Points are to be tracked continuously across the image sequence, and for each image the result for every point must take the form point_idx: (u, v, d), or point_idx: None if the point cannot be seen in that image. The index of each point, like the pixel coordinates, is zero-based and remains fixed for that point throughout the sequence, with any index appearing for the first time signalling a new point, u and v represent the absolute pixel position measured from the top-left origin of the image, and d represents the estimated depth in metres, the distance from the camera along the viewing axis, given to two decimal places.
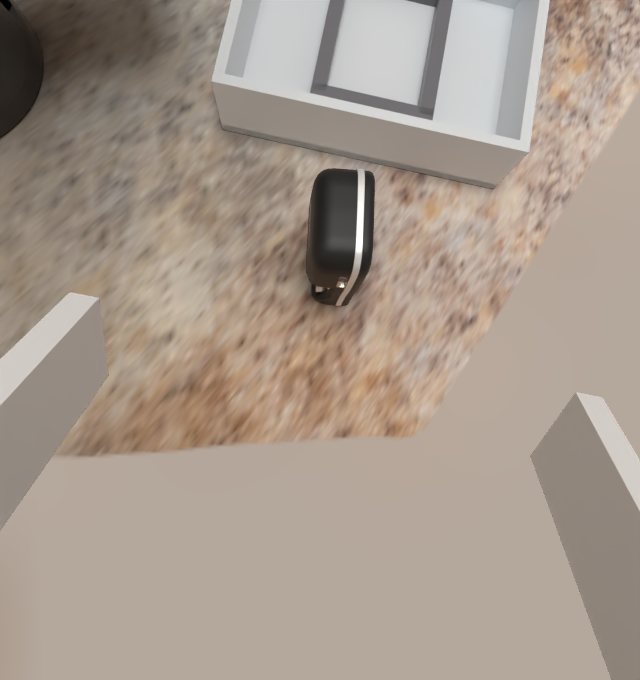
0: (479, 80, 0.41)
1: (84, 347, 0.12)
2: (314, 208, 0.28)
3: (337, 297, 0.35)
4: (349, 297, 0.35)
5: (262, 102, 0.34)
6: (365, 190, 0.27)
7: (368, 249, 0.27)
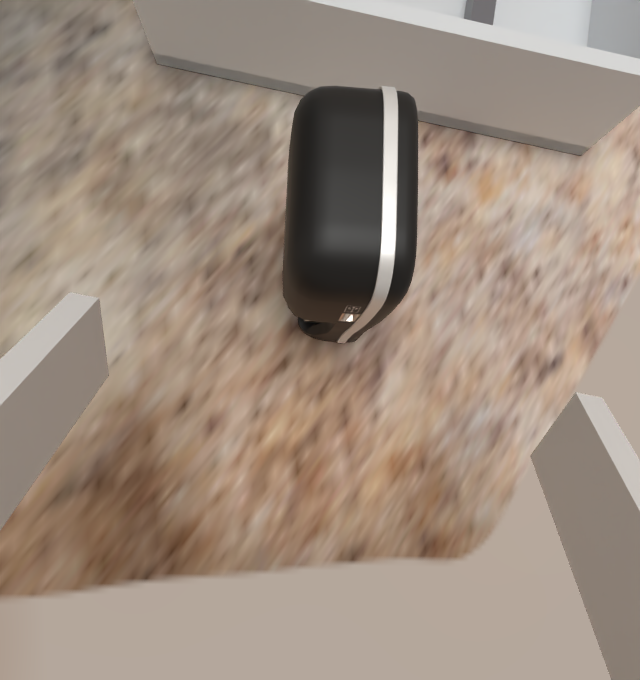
0: None
1: (84, 347, 0.12)
2: (293, 167, 0.13)
3: (340, 333, 0.21)
4: (360, 333, 0.20)
5: (209, 0, 0.20)
6: (398, 126, 0.13)
7: (407, 251, 0.13)
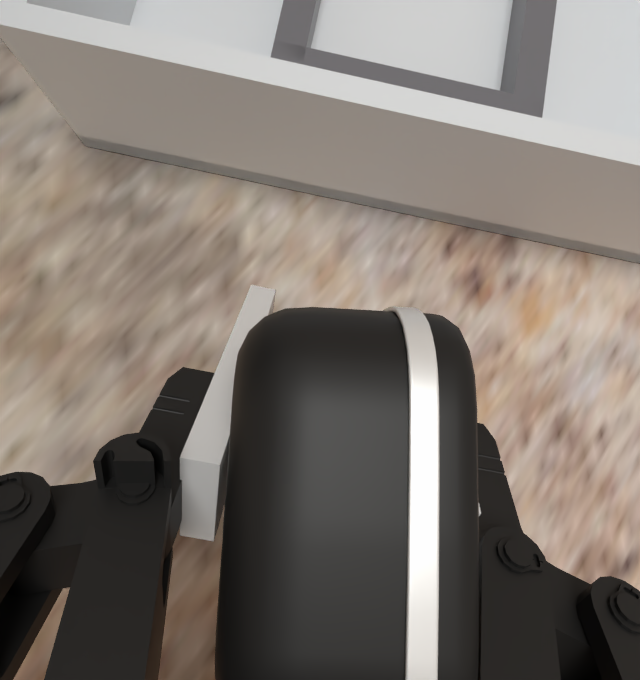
0: (624, 43, 0.20)
1: None
2: (228, 484, 0.07)
3: None
4: None
5: (138, 80, 0.14)
6: (440, 427, 0.06)
7: None
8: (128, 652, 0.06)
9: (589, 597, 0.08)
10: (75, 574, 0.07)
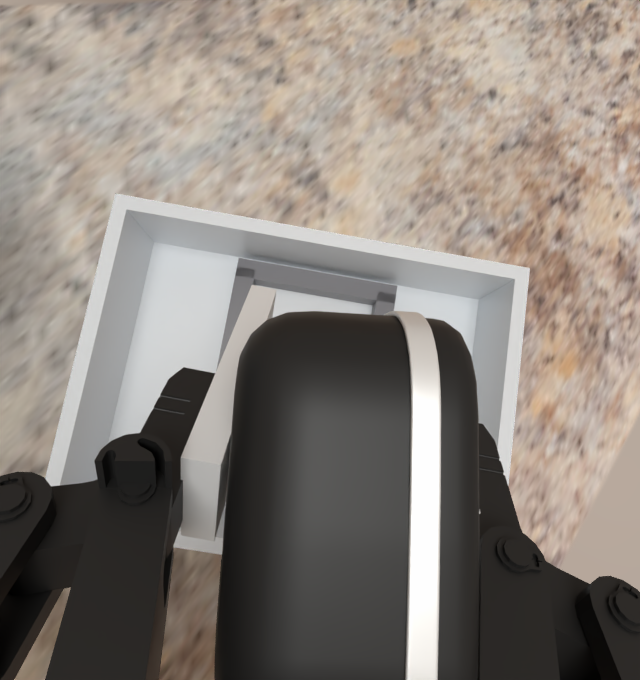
0: None
1: None
2: (229, 487, 0.07)
3: None
4: None
5: None
6: (441, 433, 0.06)
7: None
8: (129, 652, 0.06)
9: (588, 597, 0.08)
10: (76, 574, 0.07)
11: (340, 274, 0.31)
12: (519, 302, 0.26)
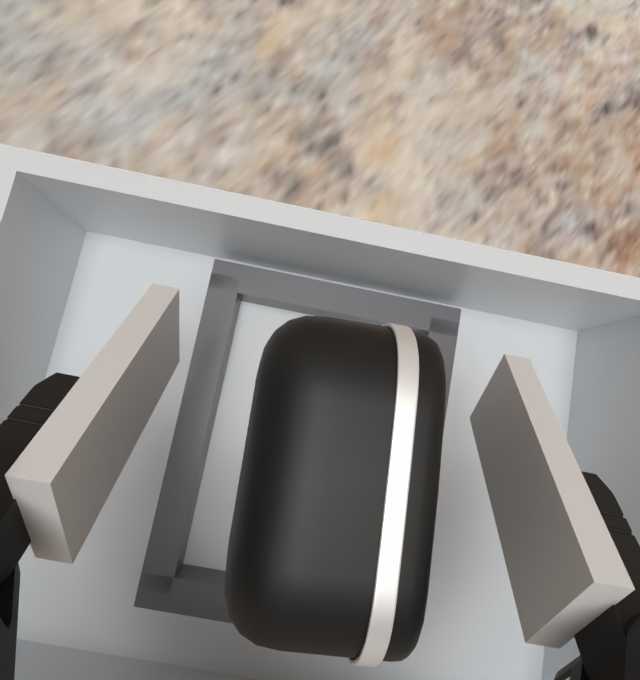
0: None
1: (167, 334, 0.13)
2: (251, 444, 0.09)
3: None
4: None
5: None
6: (416, 415, 0.08)
7: (412, 624, 0.08)
8: None
9: None
10: None
11: (371, 288, 0.20)
12: None
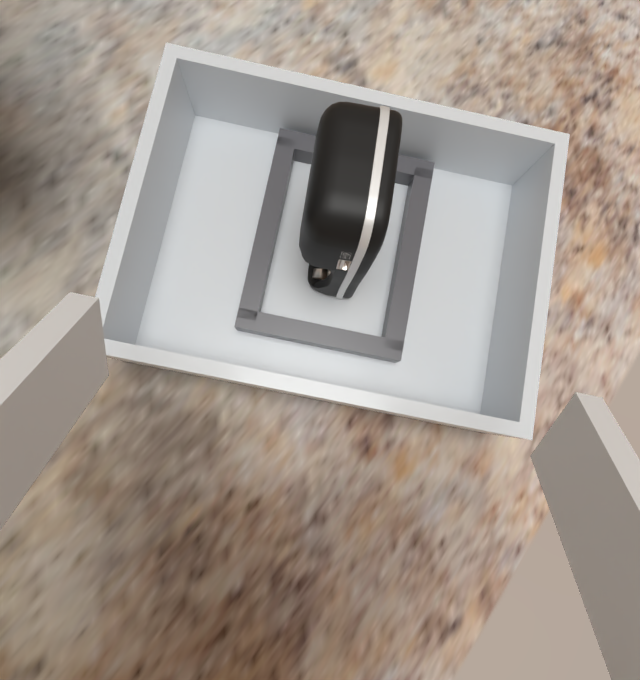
0: (466, 286, 0.31)
1: (84, 347, 0.12)
2: (315, 153, 0.20)
3: (338, 286, 0.27)
4: (353, 287, 0.27)
5: None
6: (387, 133, 0.20)
7: (384, 214, 0.19)
8: None
9: None
10: None
11: None
12: (559, 165, 0.27)
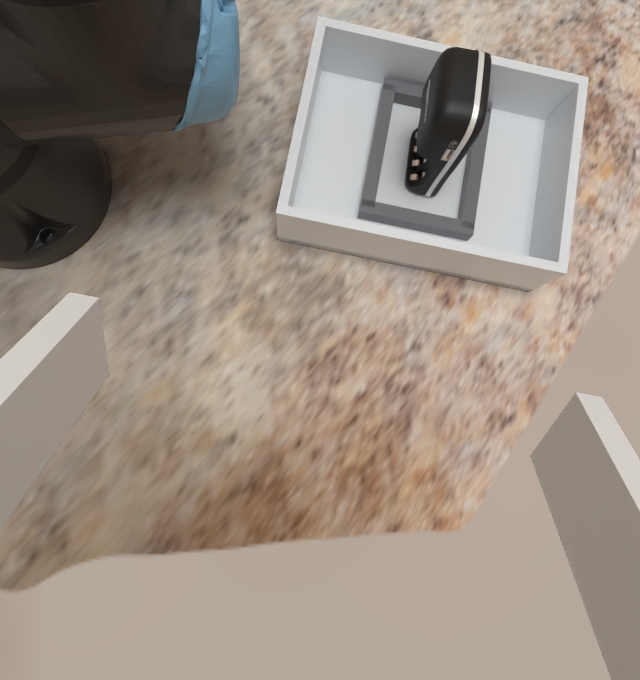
0: (514, 190, 0.44)
1: (84, 347, 0.12)
2: (438, 78, 0.33)
3: (432, 181, 0.40)
4: (443, 182, 0.40)
5: (320, 227, 0.37)
6: (484, 64, 0.32)
7: (483, 112, 0.32)
8: None
9: None
10: None
11: None
12: (581, 98, 0.40)
